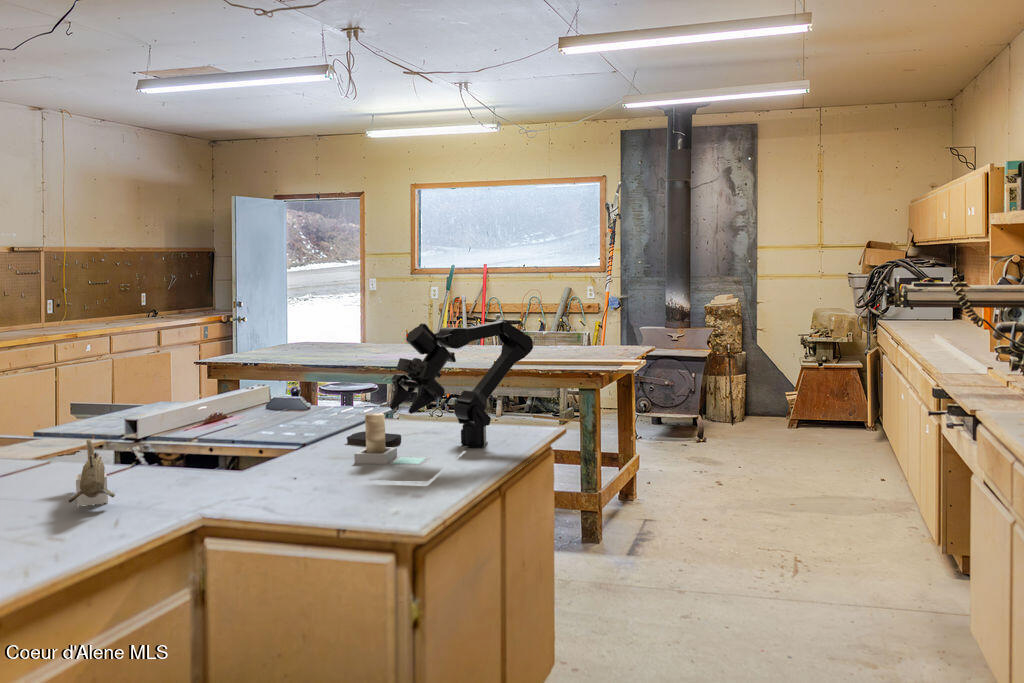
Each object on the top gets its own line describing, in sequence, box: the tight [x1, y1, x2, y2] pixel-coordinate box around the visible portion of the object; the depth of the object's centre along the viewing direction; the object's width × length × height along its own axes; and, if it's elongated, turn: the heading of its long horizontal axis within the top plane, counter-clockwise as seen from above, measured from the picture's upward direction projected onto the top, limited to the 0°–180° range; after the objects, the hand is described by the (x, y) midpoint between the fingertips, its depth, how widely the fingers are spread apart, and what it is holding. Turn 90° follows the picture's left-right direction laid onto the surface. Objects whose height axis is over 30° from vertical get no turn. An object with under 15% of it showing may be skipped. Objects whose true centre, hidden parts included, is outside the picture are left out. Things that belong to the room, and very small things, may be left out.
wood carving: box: [68, 438, 116, 506], centre depth 185 cm, size 9×35×11 cm, turn 27°
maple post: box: [364, 412, 386, 453], centre depth 216 cm, size 5×5×12 cm
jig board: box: [353, 446, 431, 466], centre depth 216 cm, size 18×9×4 cm, turn 79°
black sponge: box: [346, 430, 402, 447], centre depth 239 cm, size 16×8×4 cm, turn 59°
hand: (400, 410), depth 221 cm, fingers open, 9 cm apart
